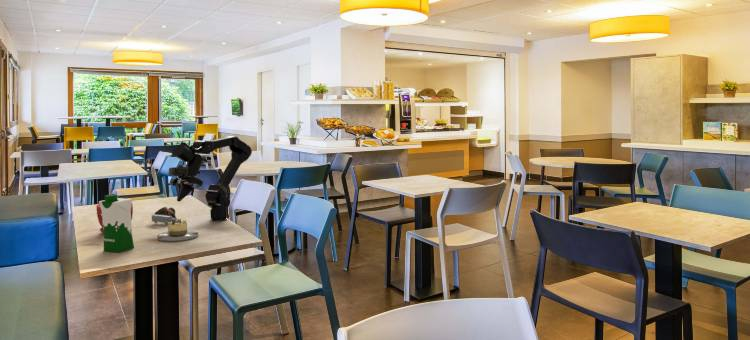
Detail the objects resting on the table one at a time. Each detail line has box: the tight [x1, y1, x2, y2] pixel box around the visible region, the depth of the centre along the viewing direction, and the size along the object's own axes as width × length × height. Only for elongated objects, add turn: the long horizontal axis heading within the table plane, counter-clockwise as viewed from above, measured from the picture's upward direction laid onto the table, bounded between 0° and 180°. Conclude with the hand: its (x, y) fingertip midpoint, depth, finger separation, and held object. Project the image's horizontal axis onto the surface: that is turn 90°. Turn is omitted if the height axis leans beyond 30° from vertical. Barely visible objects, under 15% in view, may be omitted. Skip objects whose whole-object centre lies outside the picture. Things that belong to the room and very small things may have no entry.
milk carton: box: [98, 193, 135, 254], centre depth 189 cm, size 9×9×20 cm
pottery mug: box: [152, 206, 178, 224], centre depth 233 cm, size 12×10×8 cm
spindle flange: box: [156, 218, 199, 243], centre depth 207 cm, size 15×15×7 cm
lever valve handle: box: [151, 214, 188, 236], centre depth 209 cm, size 16×7×6 cm, turn 66°
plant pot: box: [96, 203, 134, 234], centre depth 215 cm, size 13×13×12 cm
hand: (178, 201), depth 218 cm, fingers closed
